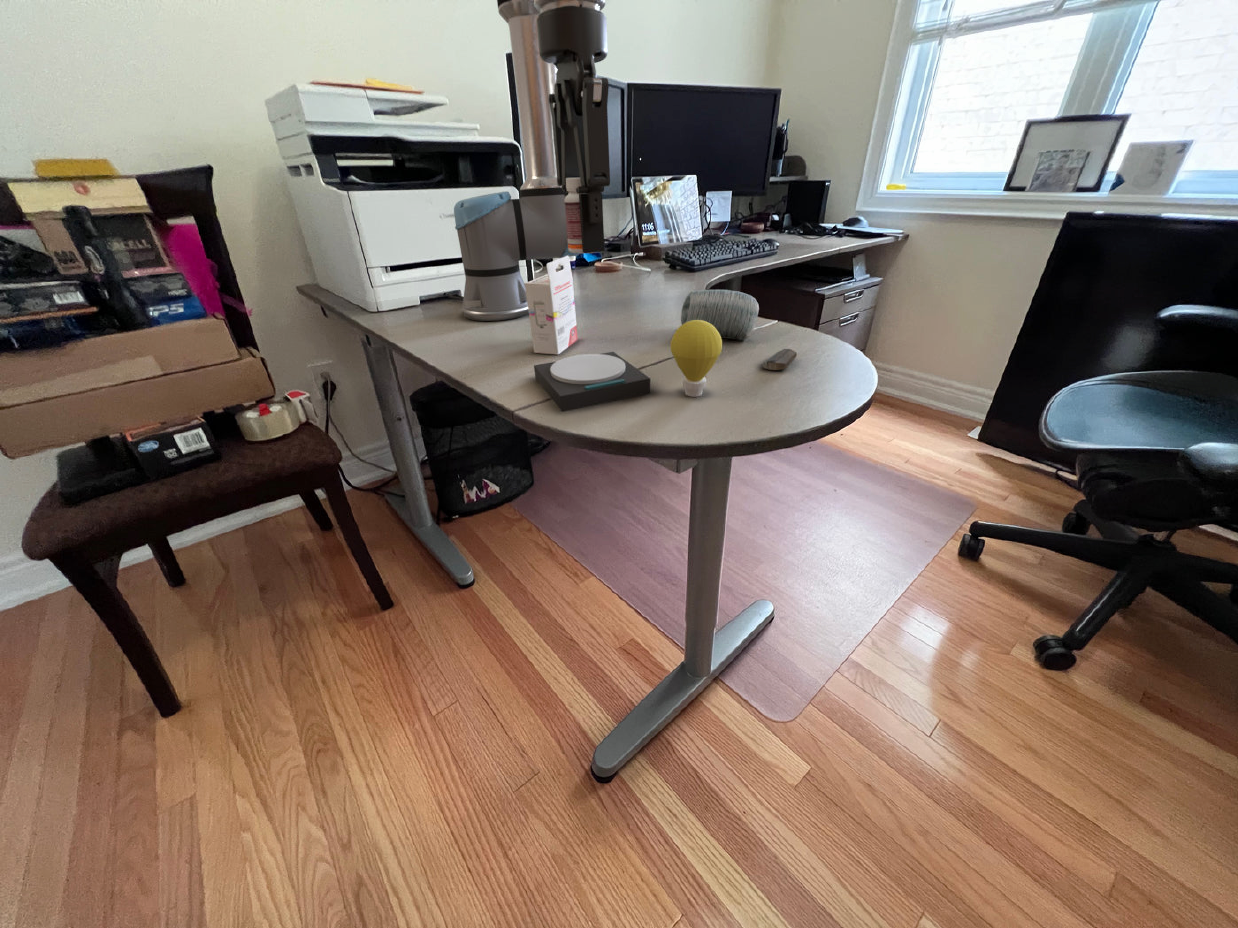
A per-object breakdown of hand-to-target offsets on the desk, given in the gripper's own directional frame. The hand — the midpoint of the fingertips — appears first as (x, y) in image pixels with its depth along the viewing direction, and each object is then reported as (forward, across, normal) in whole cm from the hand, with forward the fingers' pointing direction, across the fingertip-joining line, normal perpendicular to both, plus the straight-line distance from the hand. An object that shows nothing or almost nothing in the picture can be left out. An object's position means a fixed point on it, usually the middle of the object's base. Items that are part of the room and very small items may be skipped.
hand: (586, 249), depth 64 cm
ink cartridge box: (+18, +18, 0) cm, 26 cm away
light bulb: (+18, -12, -10) cm, 24 cm away
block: (+18, -8, -28) cm, 34 cm away
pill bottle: (0, 0, 0) cm, 0 cm away
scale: (+18, -2, +1) cm, 18 cm away
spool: (+18, +9, -28) cm, 34 cm away
